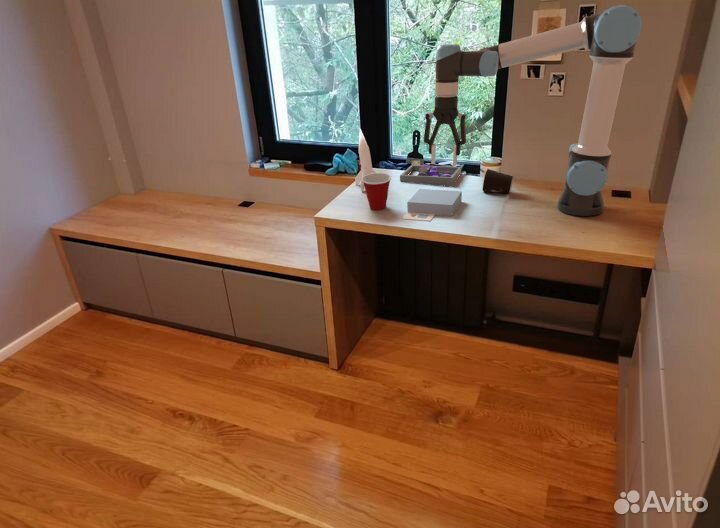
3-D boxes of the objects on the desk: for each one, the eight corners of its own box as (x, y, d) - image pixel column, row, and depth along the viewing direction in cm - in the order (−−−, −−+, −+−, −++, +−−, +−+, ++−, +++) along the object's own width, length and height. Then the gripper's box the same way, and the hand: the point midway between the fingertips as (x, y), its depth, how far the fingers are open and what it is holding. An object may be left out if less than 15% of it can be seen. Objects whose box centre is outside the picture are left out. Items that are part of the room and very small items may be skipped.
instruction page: (435, 214, 183) (435, 213, 183) (430, 221, 177) (430, 220, 177) (408, 212, 186) (407, 211, 186) (402, 218, 181) (402, 218, 181)
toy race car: (451, 185, 214) (452, 170, 211) (416, 183, 219) (416, 168, 216) (456, 179, 222) (456, 164, 219) (422, 177, 227) (422, 162, 224)
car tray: (461, 176, 224) (461, 167, 222) (452, 187, 210) (452, 178, 208) (411, 173, 232) (411, 165, 230) (400, 184, 218) (399, 175, 216)
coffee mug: (512, 176, 193) (485, 171, 196) (507, 198, 197) (481, 193, 200) (516, 169, 203) (490, 165, 206) (512, 190, 207) (487, 186, 210)
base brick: (461, 201, 194) (461, 191, 192) (452, 216, 180) (452, 205, 179) (419, 198, 199) (419, 188, 198) (407, 212, 186) (407, 202, 184)
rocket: (356, 187, 216) (345, 128, 206) (377, 181, 218) (368, 123, 207) (361, 193, 208) (350, 132, 197) (384, 187, 209) (374, 127, 198)
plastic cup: (359, 213, 189) (357, 180, 184) (367, 203, 198) (365, 172, 193) (389, 214, 186) (388, 181, 181) (395, 204, 195) (394, 173, 190)
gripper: (478, 94, 172) (474, 162, 182) (420, 93, 179) (419, 159, 189) (474, 97, 166) (470, 168, 175) (414, 96, 172) (413, 164, 182)
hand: (443, 163), depth 182 cm, fingers open, 7 cm apart
